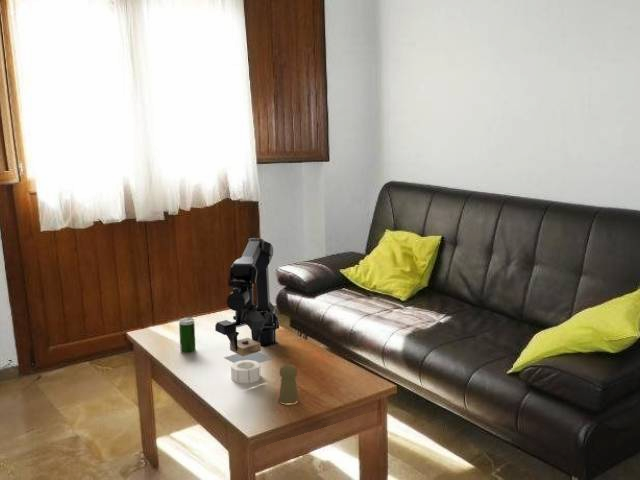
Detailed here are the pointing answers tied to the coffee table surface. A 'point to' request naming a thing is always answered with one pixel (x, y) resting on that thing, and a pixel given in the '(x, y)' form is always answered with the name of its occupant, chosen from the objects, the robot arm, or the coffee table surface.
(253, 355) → the mat
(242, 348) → the lid
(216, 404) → the coffee table surface
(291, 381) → the green shaker
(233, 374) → the bowl
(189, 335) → the beer can
